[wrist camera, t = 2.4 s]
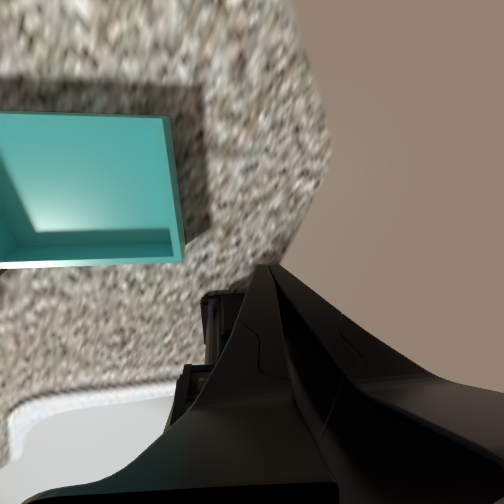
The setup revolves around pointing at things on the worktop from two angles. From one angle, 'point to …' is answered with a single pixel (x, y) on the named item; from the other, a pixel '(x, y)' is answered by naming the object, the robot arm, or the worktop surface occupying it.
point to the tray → (88, 190)
